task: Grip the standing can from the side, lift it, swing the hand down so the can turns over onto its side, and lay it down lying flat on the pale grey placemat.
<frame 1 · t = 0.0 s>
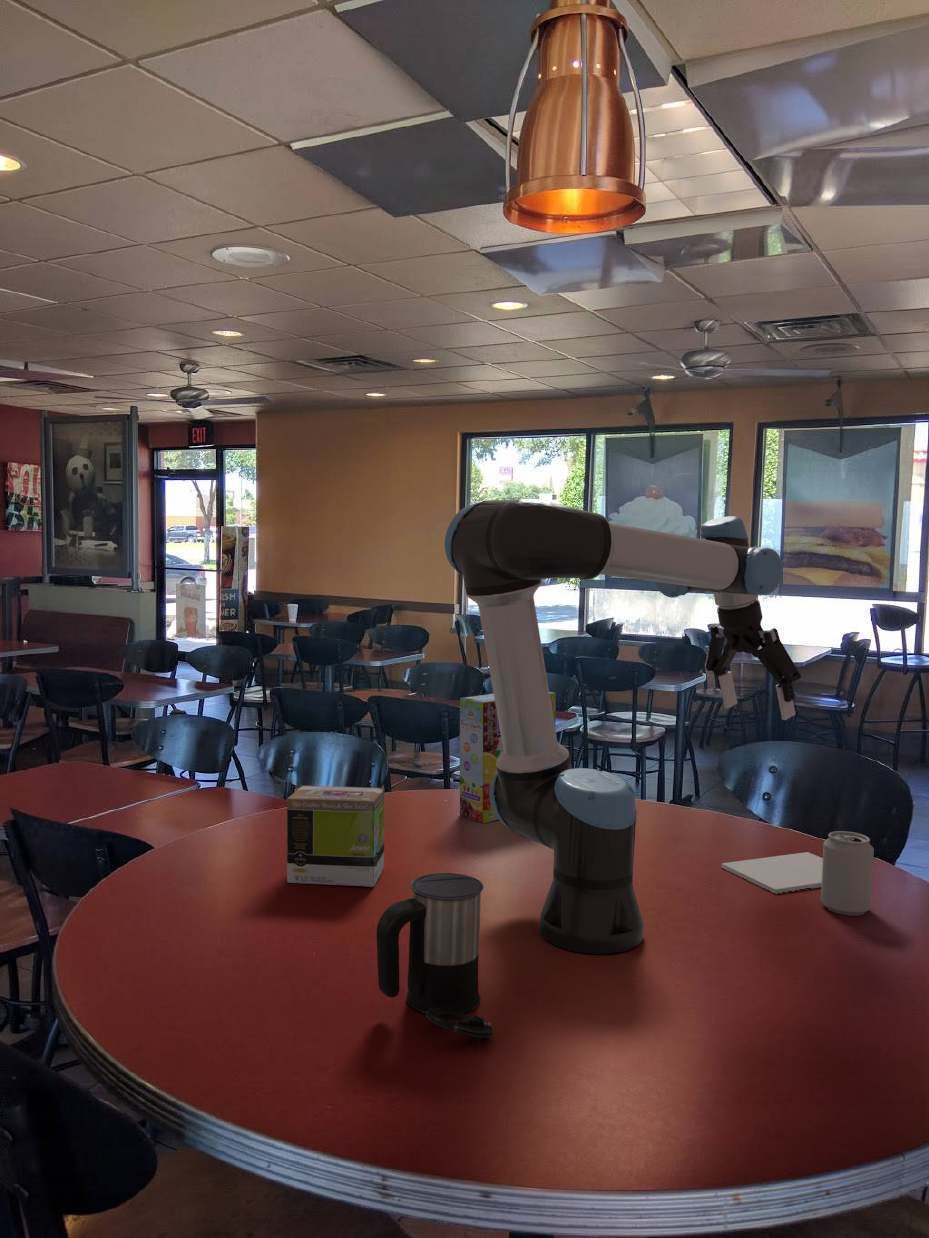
hand: (759, 711, 174), 28 cm above the table, tool tilted 20°, fingers open, 13 cm apart
milk frother: (451, 1017, 114), on the table
snack box: (507, 812, 205), on the table
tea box: (336, 877, 162), on the table
placemat: (792, 873, 169), on the table
can: (845, 909, 152), on the table
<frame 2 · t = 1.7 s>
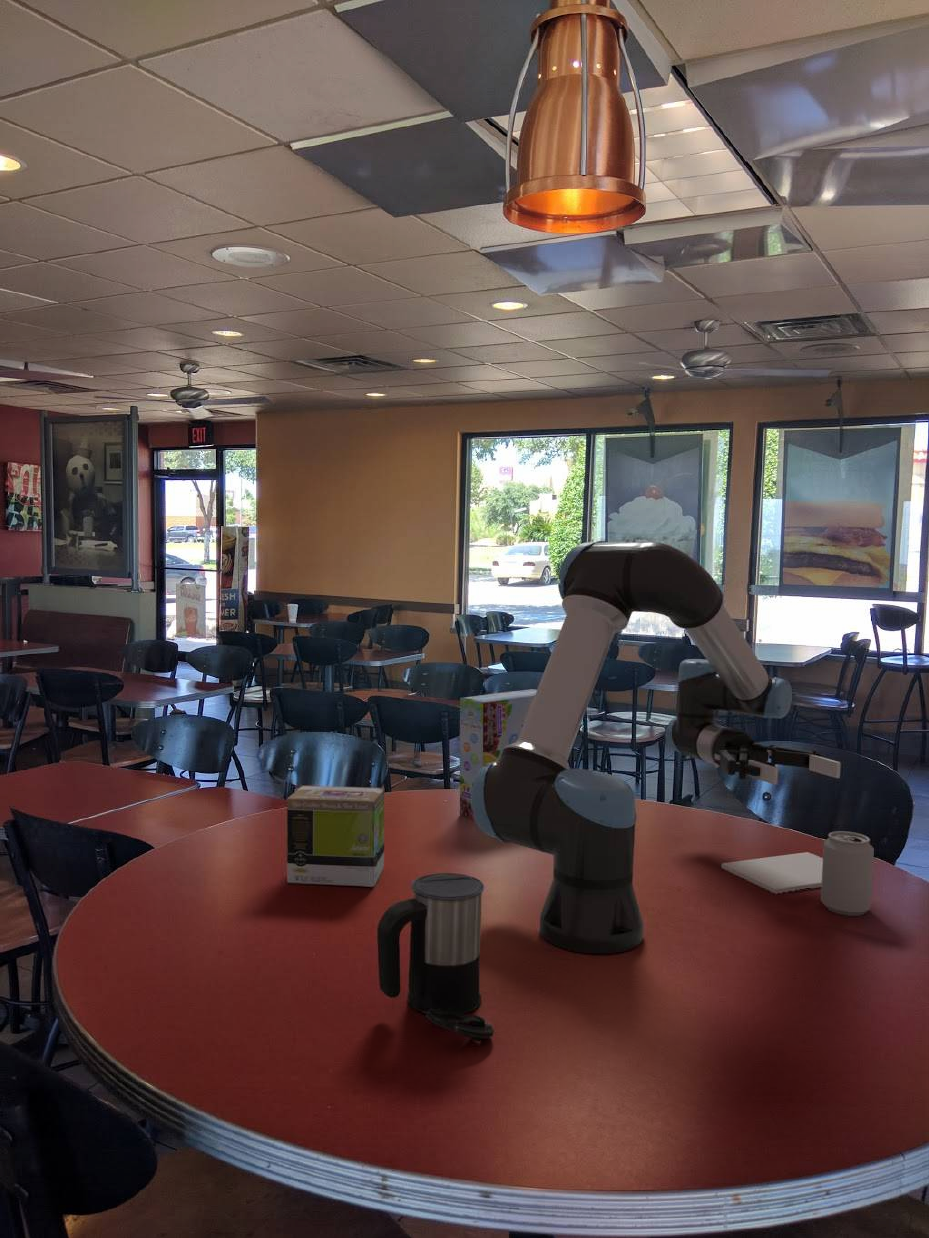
hand: (807, 773, 160), 20 cm above the table, tool horizontal, fingers open, 13 cm apart
nothing on the table moved.
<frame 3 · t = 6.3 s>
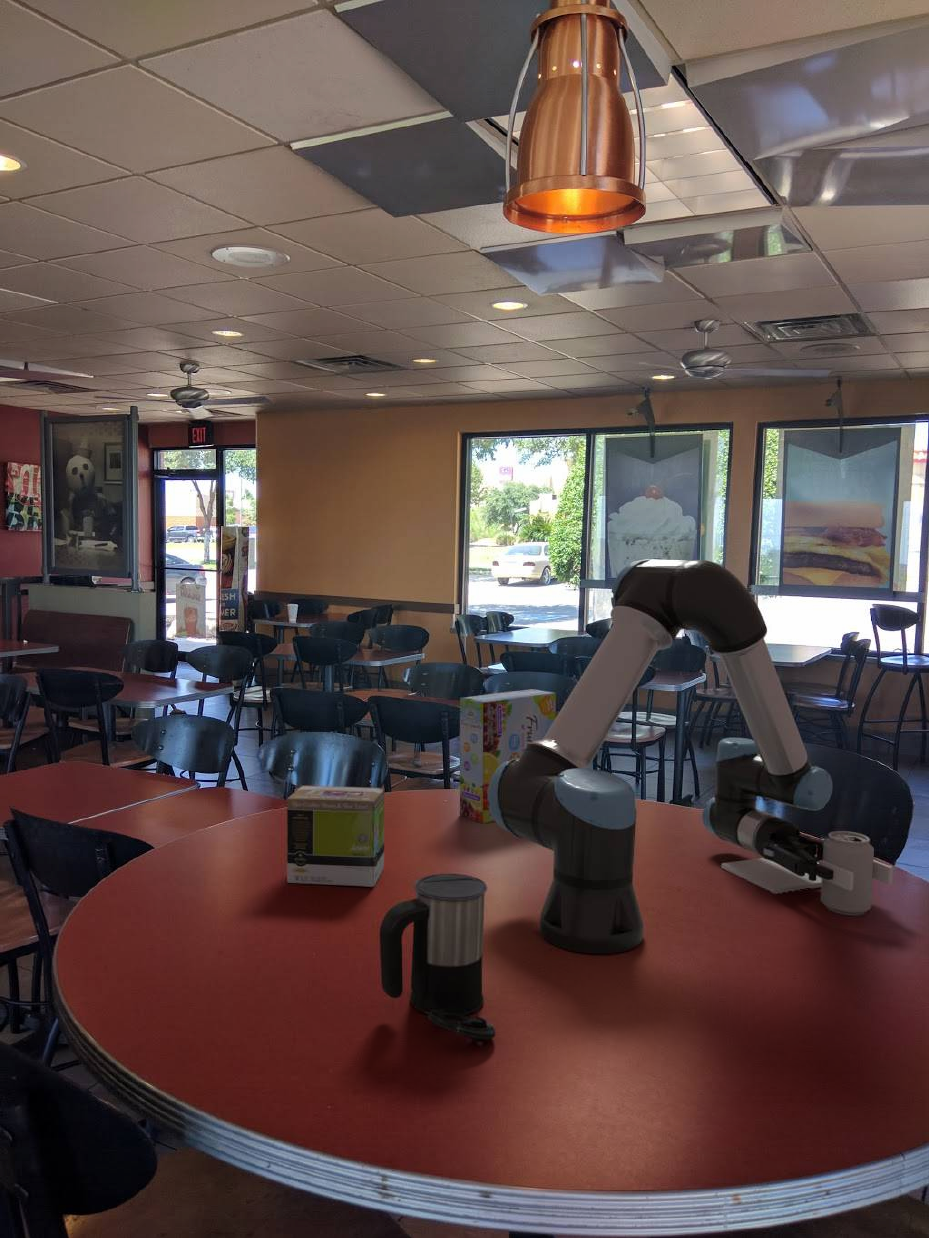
hand: (871, 878, 147), 7 cm above the table, tool horizontal, fingers closed on can, 7 cm apart
can: (845, 909, 152), on the table, touching gripper
everything else where it was.
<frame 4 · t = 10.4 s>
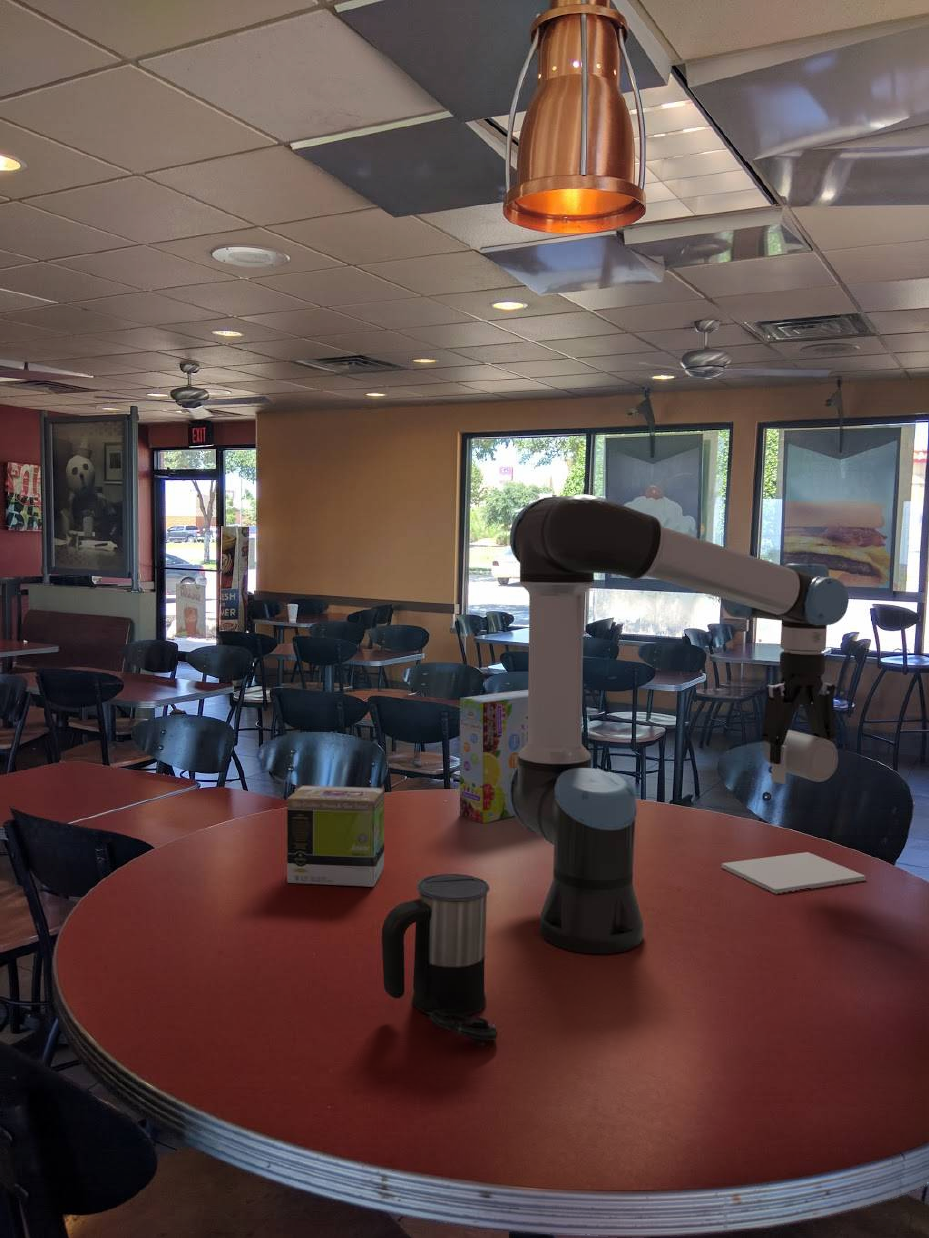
hand: (796, 780, 167), 17 cm above the table, tool pointing down, fingers closed on can, 7 cm apart
can: (825, 761, 161), point 22 cm above the table, touching gripper
everything else where it was.
when the fingers open (2 cm above the table, at t = 13.6 s): can drops 2 cm, resting on placemat.
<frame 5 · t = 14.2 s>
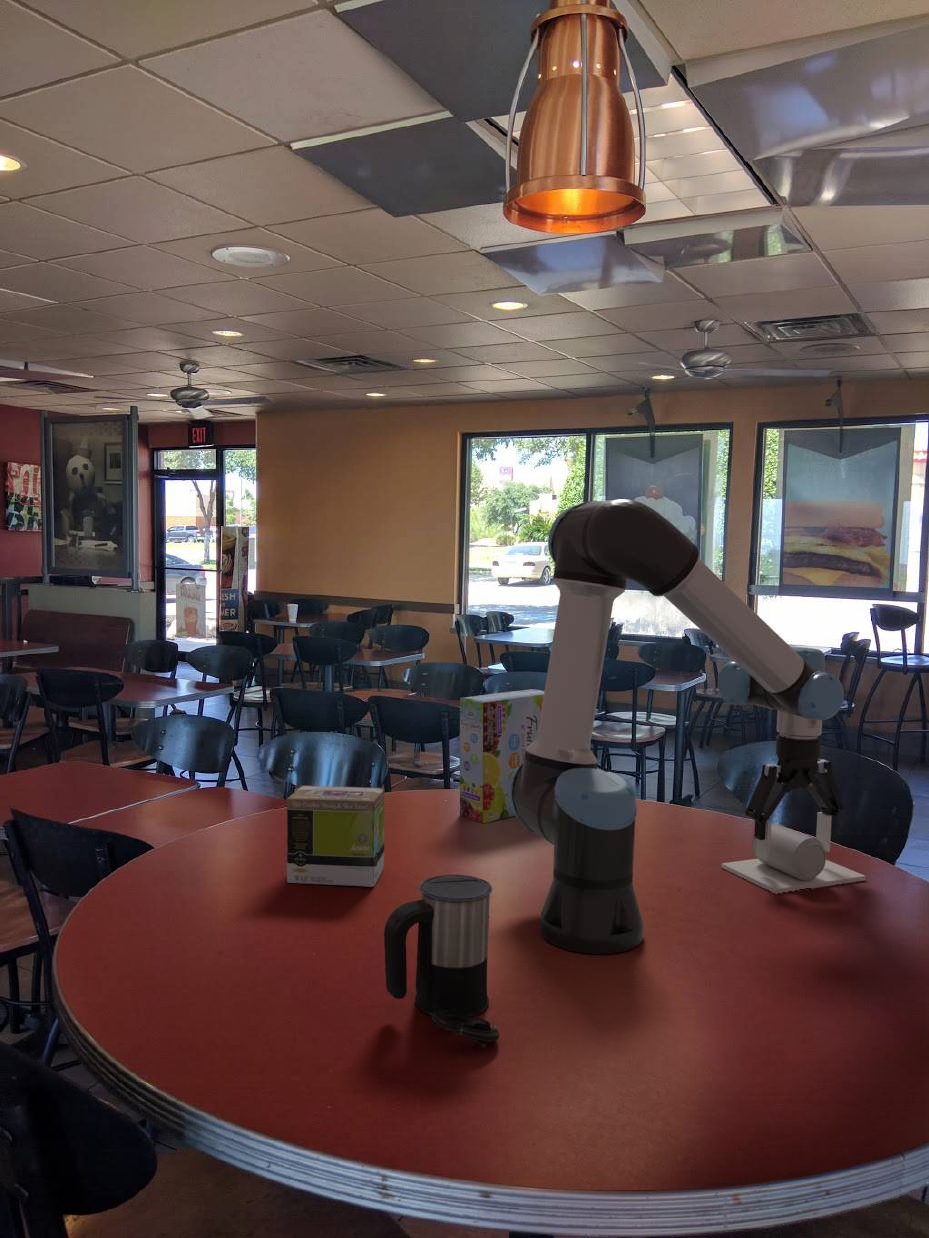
hand: (793, 853, 168), 4 cm above the table, tool pointing down, fingers open, 13 cm apart
can: (813, 861, 161), point 5 cm above the table, touching placemat
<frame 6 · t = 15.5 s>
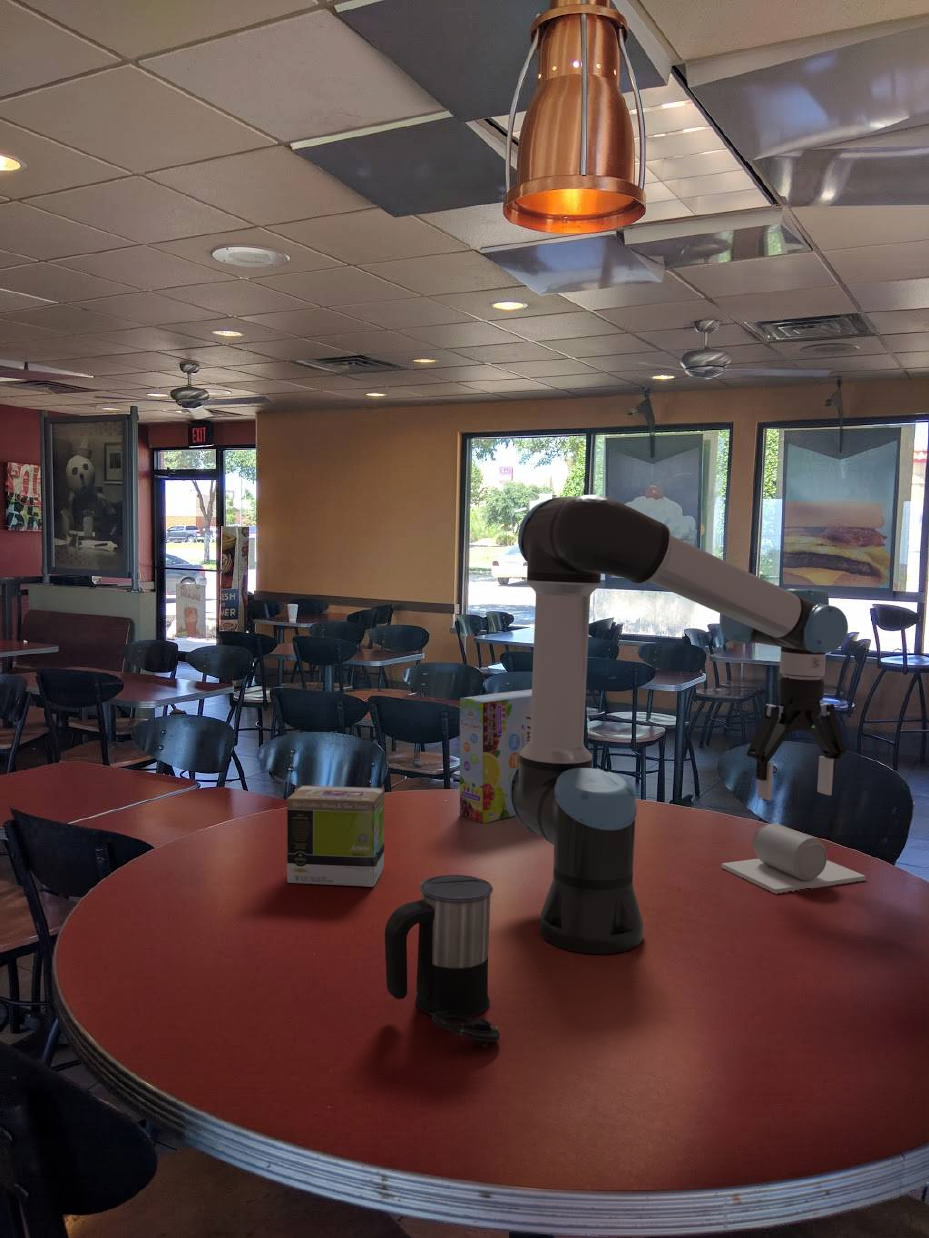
hand: (794, 796, 167), 14 cm above the table, tool pointing down, fingers open, 13 cm apart
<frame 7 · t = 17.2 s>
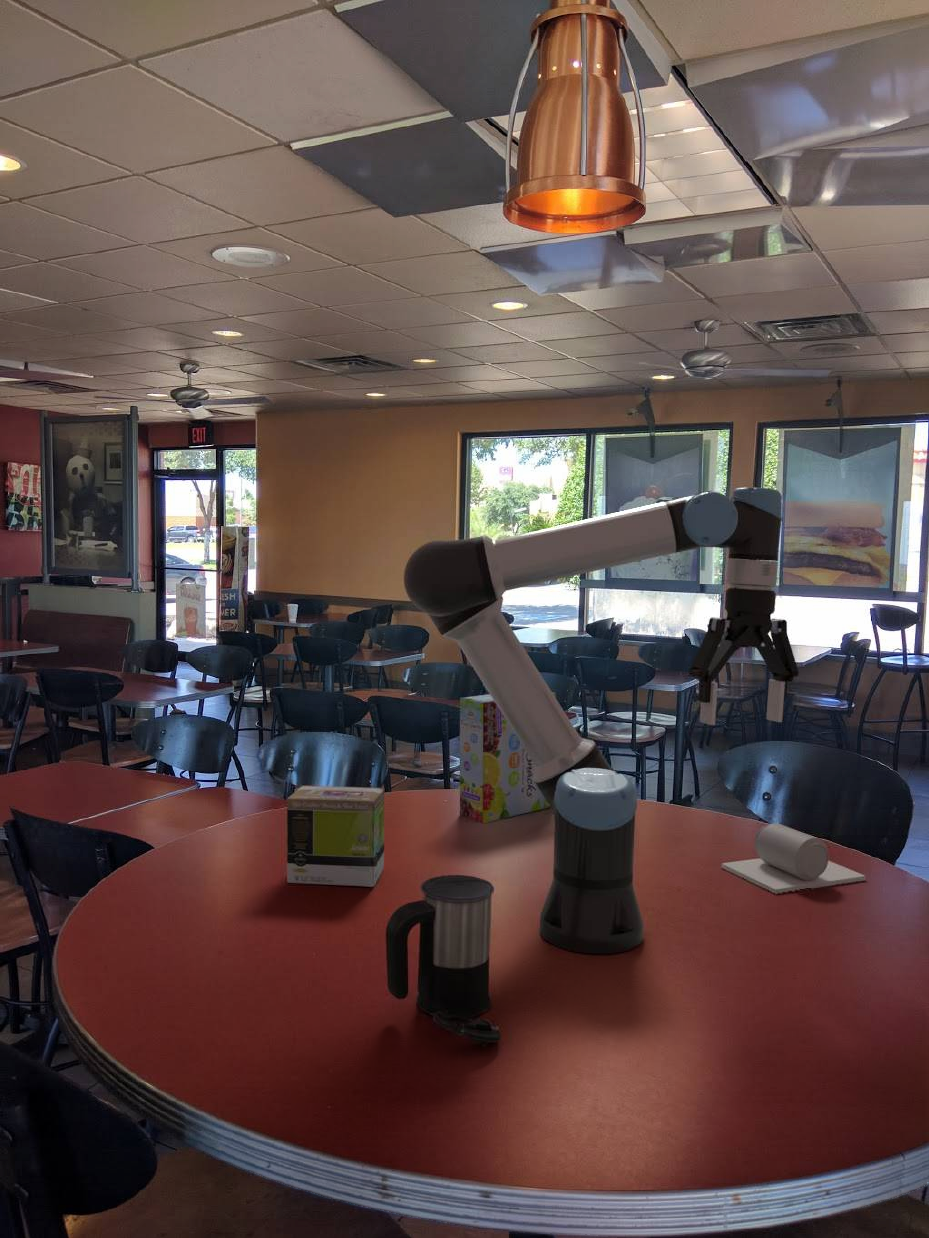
hand: (741, 722, 149), 30 cm above the table, tool pointing down, fingers open, 13 cm apart
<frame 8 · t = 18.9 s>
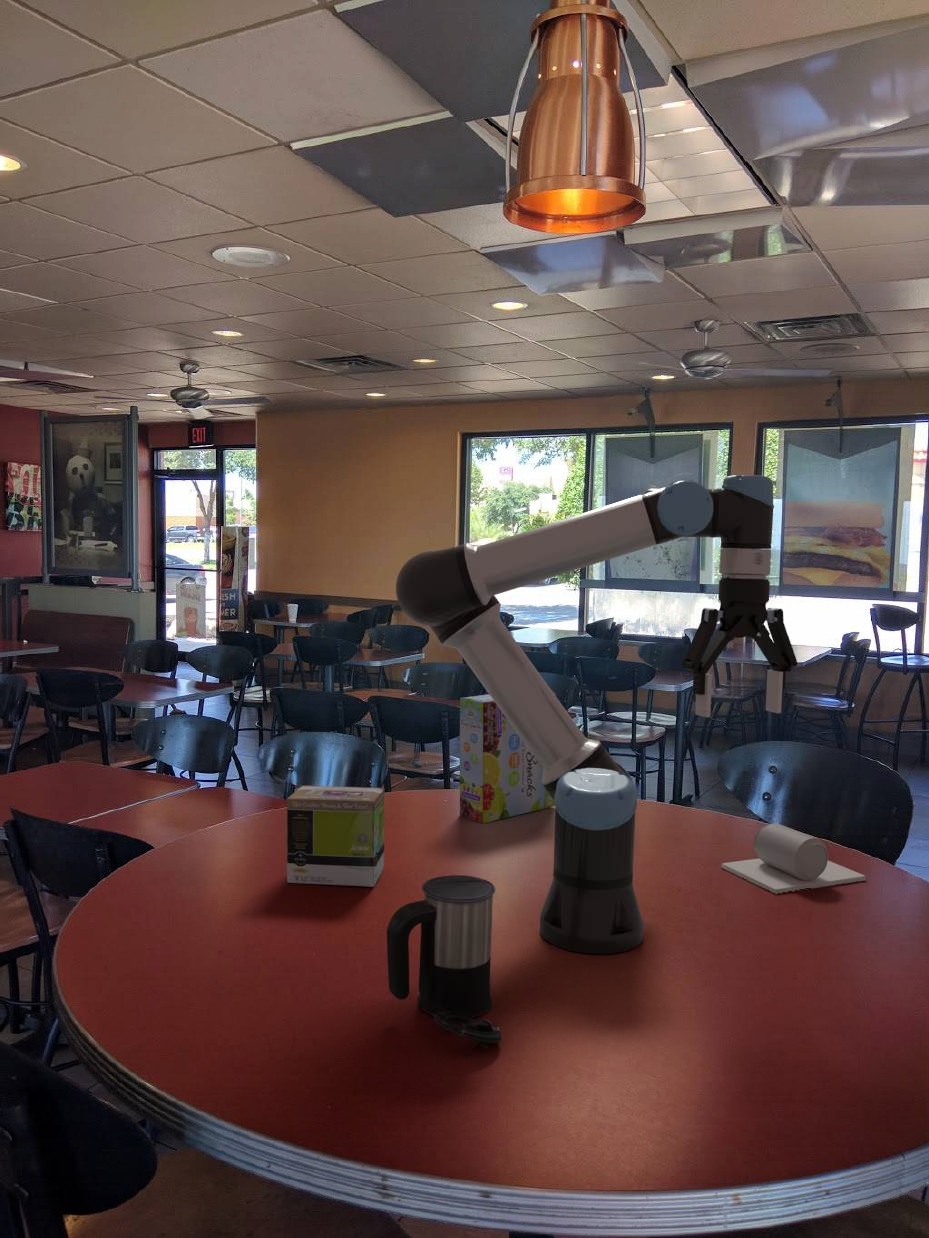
hand: (738, 714, 147), 32 cm above the table, tool pointing down, fingers open, 13 cm apart
at the end: can tilted 90°; can 6.8 cm from the placemat (horizontally); the gripper is holding nothing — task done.
